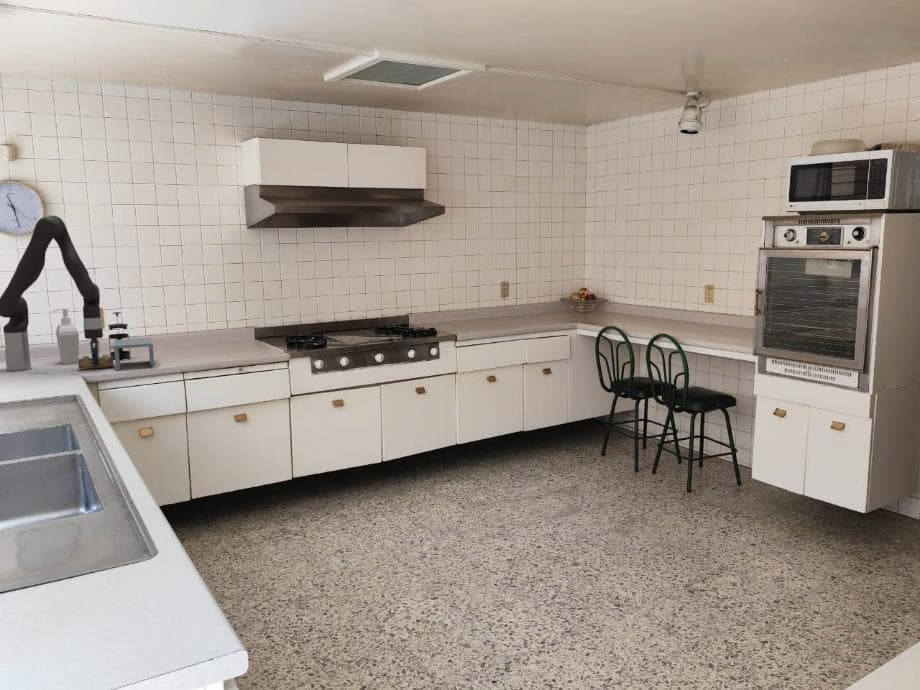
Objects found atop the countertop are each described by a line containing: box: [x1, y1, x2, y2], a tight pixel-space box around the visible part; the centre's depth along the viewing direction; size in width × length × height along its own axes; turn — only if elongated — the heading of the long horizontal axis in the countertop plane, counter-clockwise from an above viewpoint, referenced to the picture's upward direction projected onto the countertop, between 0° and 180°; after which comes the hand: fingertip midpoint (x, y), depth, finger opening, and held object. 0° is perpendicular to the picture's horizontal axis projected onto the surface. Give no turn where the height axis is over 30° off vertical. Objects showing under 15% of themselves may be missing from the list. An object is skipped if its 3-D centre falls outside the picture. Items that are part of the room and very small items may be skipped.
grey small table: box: [113, 337, 155, 371], centre depth 341 cm, size 16×20×11 cm
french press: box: [107, 311, 132, 361], centre depth 358 cm, size 12×9×23 cm
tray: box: [77, 354, 114, 370], centre depth 335 cm, size 14×6×5 cm, turn 115°
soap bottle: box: [50, 308, 80, 365], centre depth 349 cm, size 12×10×26 cm
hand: (96, 363), depth 335 cm, fingers closed on tray, 6 cm apart
